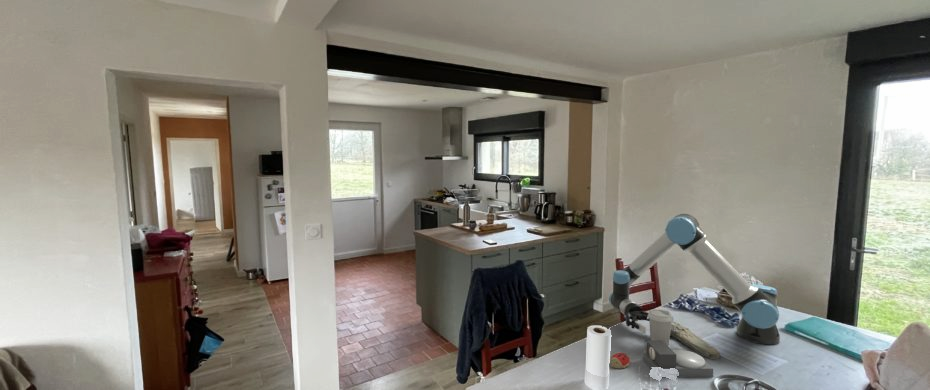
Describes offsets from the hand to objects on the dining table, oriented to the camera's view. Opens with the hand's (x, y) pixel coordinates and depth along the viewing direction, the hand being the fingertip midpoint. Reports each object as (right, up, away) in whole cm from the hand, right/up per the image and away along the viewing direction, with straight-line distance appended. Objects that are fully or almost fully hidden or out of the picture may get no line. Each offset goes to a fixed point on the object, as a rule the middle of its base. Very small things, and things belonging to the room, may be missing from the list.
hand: (659, 329), depth 159 cm
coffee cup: (0, -8, +1) cm, 8 cm away
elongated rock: (+15, -8, +8) cm, 18 cm away
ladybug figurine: (-22, -10, -11) cm, 26 cm away
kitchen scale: (-1, -9, -15) cm, 17 cm away
